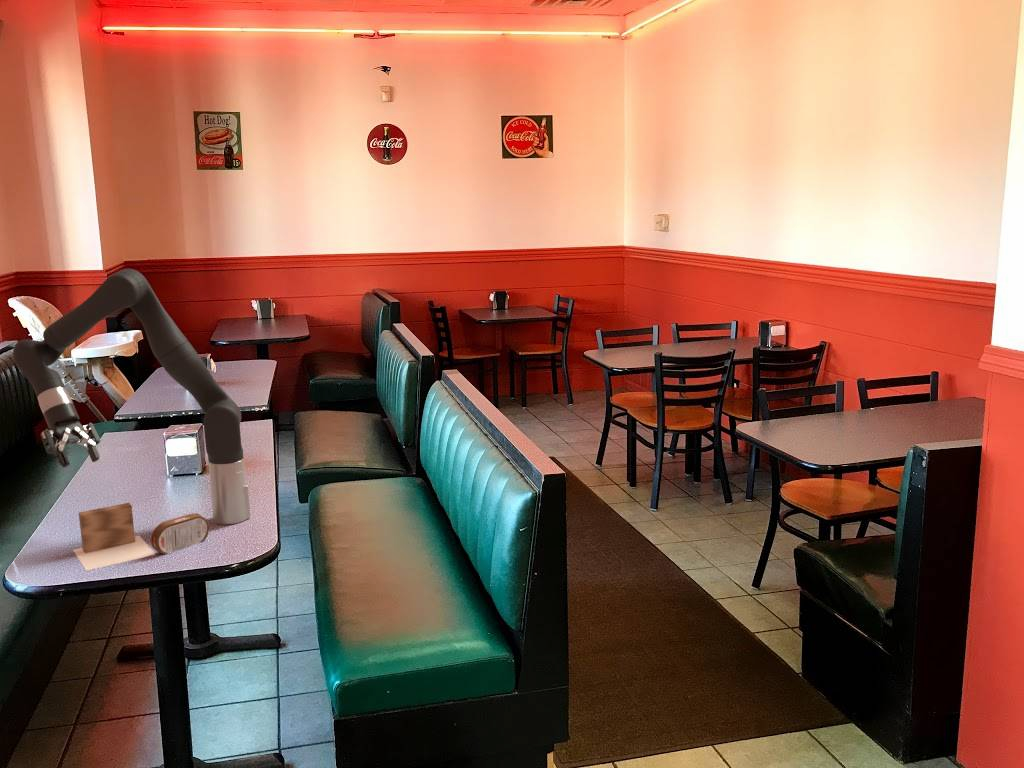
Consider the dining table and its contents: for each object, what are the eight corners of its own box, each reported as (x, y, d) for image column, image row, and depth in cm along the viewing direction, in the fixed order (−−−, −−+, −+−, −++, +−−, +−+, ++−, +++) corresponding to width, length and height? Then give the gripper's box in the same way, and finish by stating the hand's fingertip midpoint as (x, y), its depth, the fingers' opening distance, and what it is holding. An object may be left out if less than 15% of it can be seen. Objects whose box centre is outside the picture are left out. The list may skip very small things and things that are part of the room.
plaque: (132, 538, 232) (128, 502, 230) (135, 542, 230) (131, 505, 228) (82, 549, 225) (78, 512, 223) (84, 553, 223) (80, 515, 221)
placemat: (139, 537, 235) (139, 535, 234) (155, 556, 222) (155, 554, 222) (73, 551, 225) (72, 549, 225) (86, 572, 213) (86, 570, 213)
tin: (205, 539, 233) (202, 508, 232) (212, 541, 231) (209, 511, 230) (151, 557, 222) (148, 525, 220) (158, 560, 220) (155, 527, 218)
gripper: (40, 404, 225) (64, 461, 223) (89, 398, 238) (113, 452, 235) (24, 418, 229) (48, 474, 226) (74, 411, 241) (97, 465, 239)
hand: (81, 463), depth 231 cm, fingers open, 8 cm apart
